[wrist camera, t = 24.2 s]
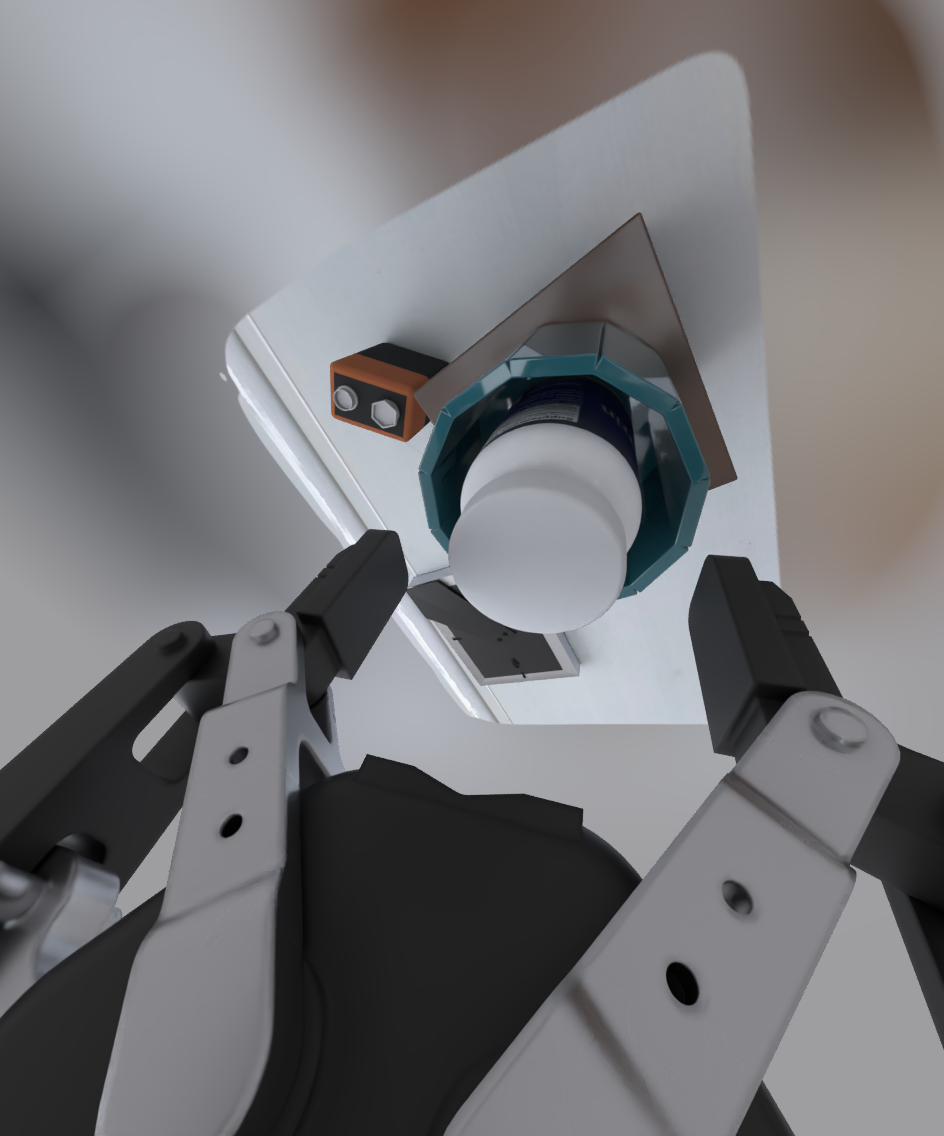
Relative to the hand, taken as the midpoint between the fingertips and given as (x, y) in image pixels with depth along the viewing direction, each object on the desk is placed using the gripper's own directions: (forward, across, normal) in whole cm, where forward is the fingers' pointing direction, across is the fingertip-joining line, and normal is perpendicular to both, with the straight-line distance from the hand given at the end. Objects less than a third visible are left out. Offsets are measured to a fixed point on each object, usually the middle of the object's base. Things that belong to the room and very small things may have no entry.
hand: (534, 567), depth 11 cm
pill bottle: (+10, 0, 0) cm, 10 cm away
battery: (+28, +15, +1) cm, 32 cm away
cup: (+10, 0, 0) cm, 10 cm away
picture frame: (+28, +9, +32) cm, 44 cm away
